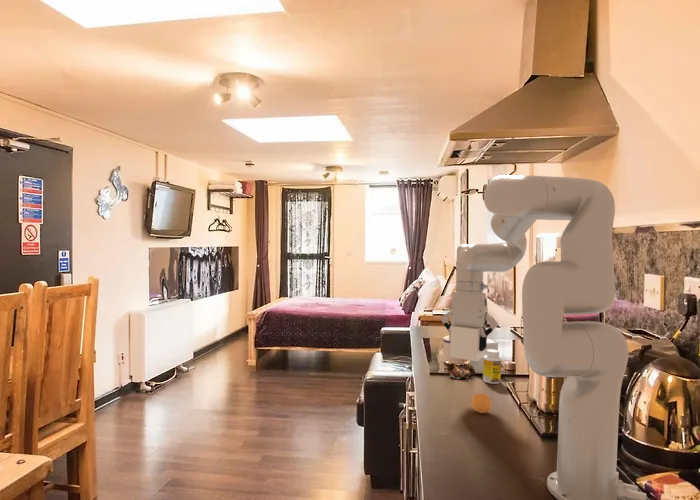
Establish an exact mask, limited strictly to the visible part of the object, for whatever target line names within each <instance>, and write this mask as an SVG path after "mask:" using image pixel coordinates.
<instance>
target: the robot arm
mask: <svg viewBox="0 0 700 500" xmlns="http://www.w3.org/2000/svg"><path fill="white" fill-rule="evenodd" d="M611 191H612V190H610V189H609V187H608V186H607V185H605V184H604V183H602V182H600V181H597V180H594V179H591V178H590V179H589V178H582V177H570V176H546V175H506V174H501V175H500V174H499V175H498V176H495V177H494V178H493V179H491V180H490V182H488V184H487V185H486V188H485V190H484V195H483V202H484V205H485V206H484V207H485V208H486V210H488V211H489V212H490V213H492V214H493V215H492V217H491V219H490V226H491V229H492V231H493V233H494V234H495V235H496V236H497V238H499V239H501V240H503V241H504V242H505V243H503V244H501V243H500V244H499V243H470V244H460V245H458V246H457V249H456V266H455V267H456V270H455V272H456V275H455V290H454V291H453V293H452V297H451V301H450V302H451V303H450V311H448V312H447V313H445V314H443V315H442V316H440V321H441V322H442V324H443V326H444V327H445V328H446V330H447V332H448V333H449V334H450V331H451V326H453V325H456V326H464V327H472V328H480V334H481V337H480V343H479V350H480V351H483V350H485V348H486V346H487V339H488V336H489V335H491V333H492V332H494V330H495V329H496V328H497V326H498V325H499V323H498V321H497V320H495V319H494V318H493V317H491V316H490V315H489V311H488V298H487V294H486V292H484V290H488V289H489V285H488V284H485V283H484V272H487V273H488V272H493V273H494V272H495V273H496V272H497V273H498V272H499V273H500V272H501V273H504V272H509V271H510V270H512V269H513V268H515V267H516V266H517V265H518V264H519V263H520V261H522V259H523V258H524V256H525V253H526V250H527V244H528V243H527V237H526V233H527V232H528V231H529V229H530V228H531V227H532V226H533V224H535V222H536V221H537V220H542V221H543V220H544V221H569V222H568V224H567V225H566V227H565V228H564V230H563V231H562V234H561V237H560V240H559V241H560V243H559V245H560V260H559V261H558V260H557V261H556V260H555V261H554V260H553V261H552V260H547V261H541V262H537V263H535V264H533V265H532V266H530V268H529V269H528V270H527V272H526V274H525V275H524V278H523V280H522V281H523V282H522V288H521V300H522V301H521V305H522V306H521V309H522V310H521V311H522V331H523V332H522V334H523V337H522V338H523V350H524V356H525V359H526V362H527V365H528V366H529V368H530V369H531V370H532V371H533V372H534V373H535V374H537V375H539V376H542V377H545V378H565V379H564V382H563V384H562V386H561V389H560V393H559V402H558V403H559V405H558V424H557V425H558V428H557V429H558V431H557V453H556V471H554V472H552V473H550V474H549V475H548V476H547V479H546V486H547V490H548V491H549V492H550V494H551V495H552V496H554V498H555V499H557V500H647V493H645V492H642V491H639V486H638V485H634V484H629V483H625V482H623V480H621V479H619V474H620V473H619V471H617V465H618V464H617V461H618V439H619V417H620V415H619V414H620V402H621V401H620V400H621V391H622V390H621V389H622V385H623V379H624V376H625V373H626V368H627V367H628V361H629V345H628V341H627V339H626V337H625V336H624V334H623V333H622V332H621V330H619V329H618V328H617V327H615V326H613V325H611V324H608V323H606V322H600V321H593V320H592V321H587V320H586V321H564V320H563V319H564V315H590V314H592V315H594V314H600V313H605V312H606V311H608V310H610V308H611V307H612V306H613V304H614V301H615V298H616V297H615V296H616V295H615V293H616V291H615V290H616V288H615V287H616V285H615V284H616V283H615V266H614V265H615V264H614V263H615V261H614V248H613V230H614V221H615V213H616V205H615V199H614V195H613V193H612V192H611ZM448 318H449V321H448ZM488 324H490V326H489V327H488V328H486V326H487V325H488ZM449 342H450V339H449Z"/></svg>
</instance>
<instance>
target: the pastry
mask: <svg viewBox="0 0 700 500" xmlns="http://www.w3.org/2000/svg"><path fill="white" fill-rule="evenodd" d="M450 371H451V372H450V373H449V377H450V378H451V377H452V378H453V379H456V380H457V379H459V380H460V379H461V378H464V379H467V381H468V382H471V377H470V376H471V375H472V374H471V372H470V370H469V369H465V368H463V367H458V366H455V365H454V366H453V369H451V370H450Z"/></svg>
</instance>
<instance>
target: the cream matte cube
mask: <svg viewBox="0 0 700 500" xmlns="http://www.w3.org/2000/svg"><path fill="white" fill-rule="evenodd" d="M449 335H450V357H454V358H460V359H465V360H467V361H470V360H471V361H478V360H479V359H481V358H482V357H484V356H485V350H483V351H480V350H479V343H480V337H481V334H480V328H472V327H464V326H456V325H453V326H451V331H450V333H449Z"/></svg>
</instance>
